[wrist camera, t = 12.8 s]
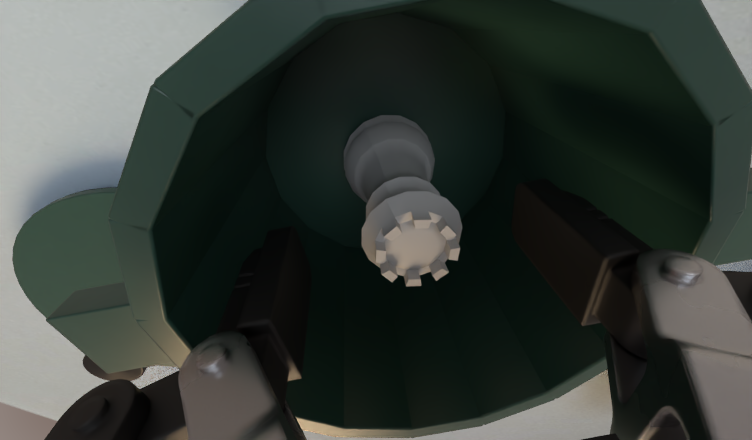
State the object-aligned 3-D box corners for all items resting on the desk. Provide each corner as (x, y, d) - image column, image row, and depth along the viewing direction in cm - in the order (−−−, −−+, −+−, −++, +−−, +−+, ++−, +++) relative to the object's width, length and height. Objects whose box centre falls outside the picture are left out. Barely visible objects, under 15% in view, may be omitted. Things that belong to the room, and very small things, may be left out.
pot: (140, 41, 13) (-337, 79, 4) (592, -47, 12) (1215, -226, 4) (259, 276, 20) (190, 476, 11) (545, 224, 20) (709, 387, 11)
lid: (-39, 209, 16) (-207, 290, 11) (233, 158, 16) (183, 218, 11) (128, 366, 24) (73, 453, 19) (310, 334, 23) (302, 413, 19)
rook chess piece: (324, 144, 15) (309, 240, 8) (403, 92, 14) (457, 154, 7) (372, 208, 17) (390, 325, 11) (443, 167, 16) (513, 268, 10)
